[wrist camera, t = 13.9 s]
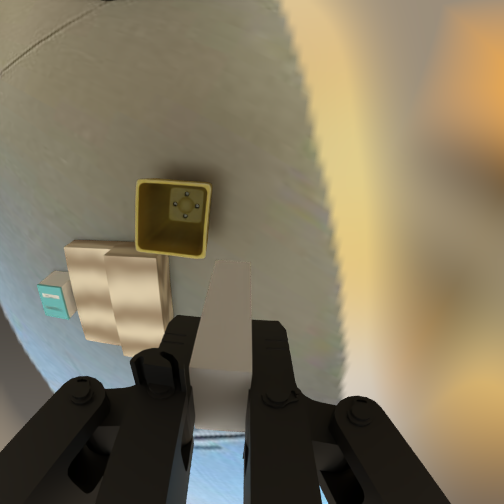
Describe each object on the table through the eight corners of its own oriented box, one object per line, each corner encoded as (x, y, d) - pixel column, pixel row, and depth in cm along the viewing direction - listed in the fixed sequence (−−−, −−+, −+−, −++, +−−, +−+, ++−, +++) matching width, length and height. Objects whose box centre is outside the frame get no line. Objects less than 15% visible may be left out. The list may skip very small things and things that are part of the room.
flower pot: (158, 170, 38) (135, 178, 30) (219, 175, 39) (211, 184, 30) (156, 230, 41) (134, 251, 33) (214, 236, 42) (205, 260, 33)
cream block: (59, 288, 38) (77, 272, 44) (37, 285, 38) (54, 270, 44) (68, 319, 40) (83, 302, 46) (45, 315, 40) (61, 299, 46)
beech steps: (74, 239, 42) (55, 252, 36) (167, 243, 42) (156, 258, 36) (93, 329, 48) (80, 347, 42) (176, 339, 48) (168, 361, 43)
